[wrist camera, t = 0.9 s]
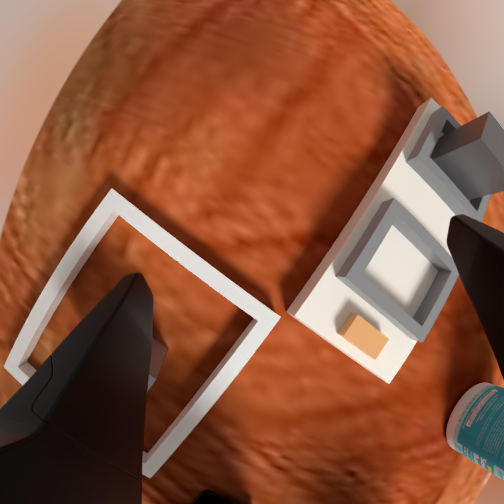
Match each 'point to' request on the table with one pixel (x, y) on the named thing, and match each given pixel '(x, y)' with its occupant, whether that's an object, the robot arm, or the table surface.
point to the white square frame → (260, 313)
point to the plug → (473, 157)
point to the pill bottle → (479, 427)
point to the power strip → (391, 255)
